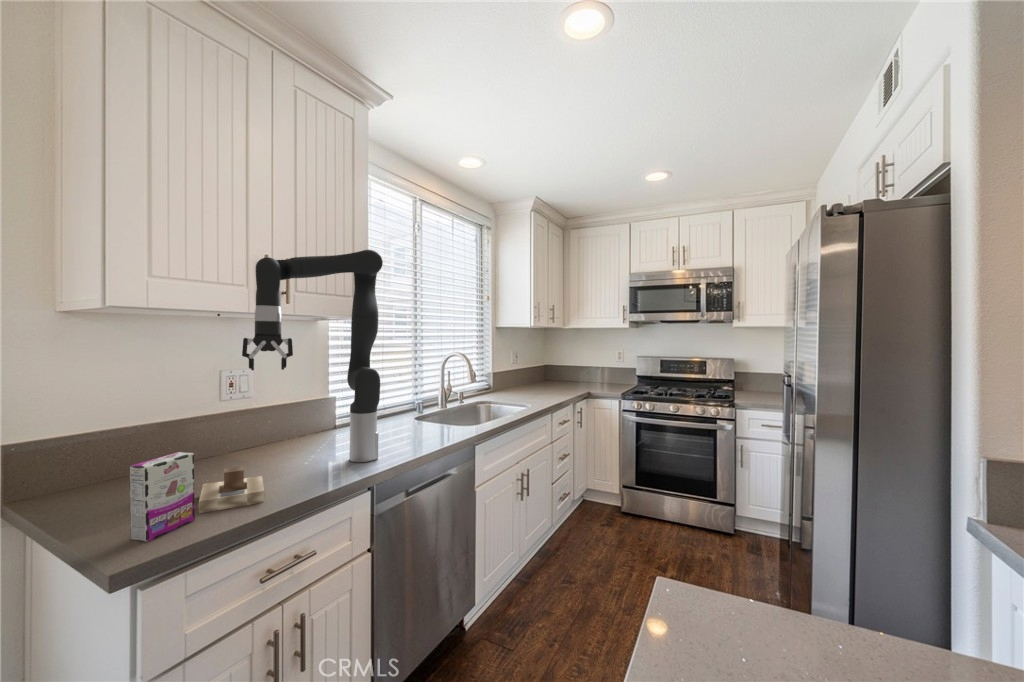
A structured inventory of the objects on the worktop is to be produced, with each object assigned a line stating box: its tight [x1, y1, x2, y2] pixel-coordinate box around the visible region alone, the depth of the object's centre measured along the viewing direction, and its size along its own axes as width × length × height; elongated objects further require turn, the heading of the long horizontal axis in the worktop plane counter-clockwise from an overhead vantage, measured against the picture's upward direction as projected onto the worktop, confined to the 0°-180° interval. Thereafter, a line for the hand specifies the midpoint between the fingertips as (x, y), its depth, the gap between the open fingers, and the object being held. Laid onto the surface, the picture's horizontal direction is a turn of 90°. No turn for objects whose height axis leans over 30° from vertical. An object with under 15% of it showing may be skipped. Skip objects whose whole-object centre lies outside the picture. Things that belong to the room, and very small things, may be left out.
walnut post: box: [223, 465, 245, 493], centre depth 115 cm, size 4×4×8 cm
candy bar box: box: [129, 451, 196, 543], centre depth 96 cm, size 11×5×16 cm, turn 168°
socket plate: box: [198, 475, 265, 514], centre depth 115 cm, size 14×14×3 cm
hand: (267, 369), depth 138 cm, fingers open, 8 cm apart
